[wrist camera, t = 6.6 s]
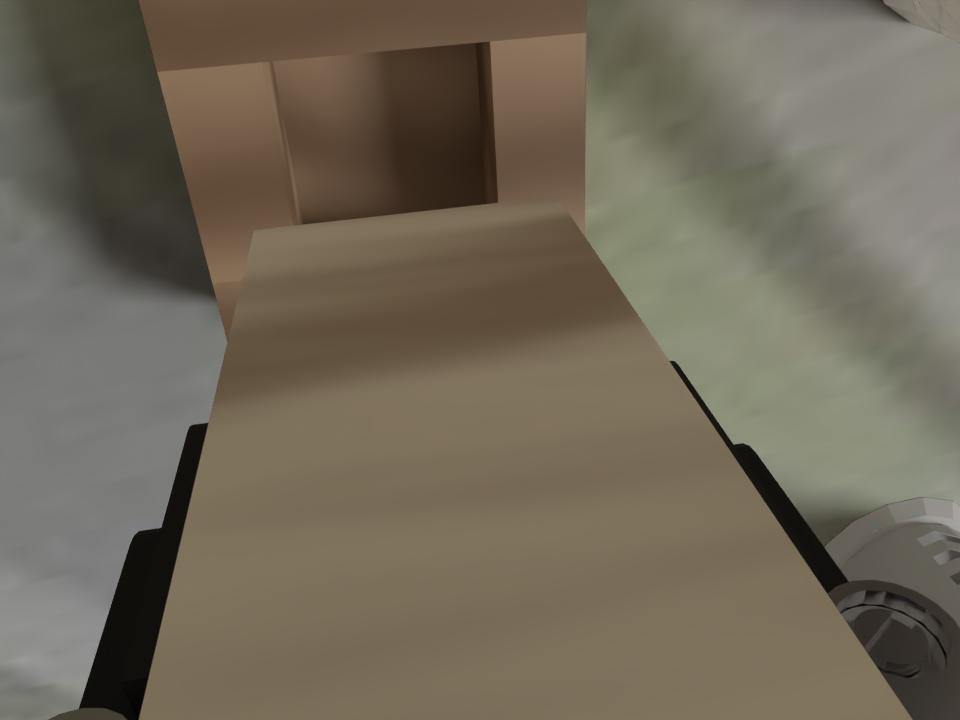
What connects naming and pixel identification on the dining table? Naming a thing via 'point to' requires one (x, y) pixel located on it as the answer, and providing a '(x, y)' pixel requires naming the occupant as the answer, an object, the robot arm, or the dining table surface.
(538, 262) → the birch peg
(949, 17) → the white cup
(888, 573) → the french press
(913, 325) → the dining table surface
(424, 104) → the walnut holder
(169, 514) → the robot arm
